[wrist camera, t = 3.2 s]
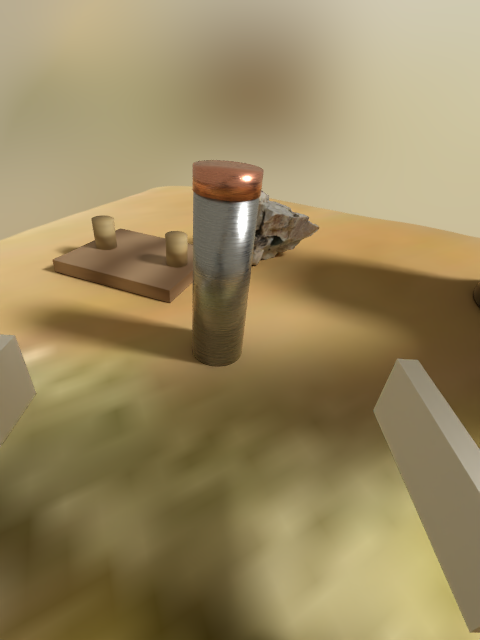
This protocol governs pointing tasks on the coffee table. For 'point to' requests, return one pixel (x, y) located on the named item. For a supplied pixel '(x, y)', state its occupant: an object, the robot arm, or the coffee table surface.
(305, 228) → the mineral specimen
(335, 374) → the coffee table surface
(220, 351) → the pin
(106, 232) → the peg rack
